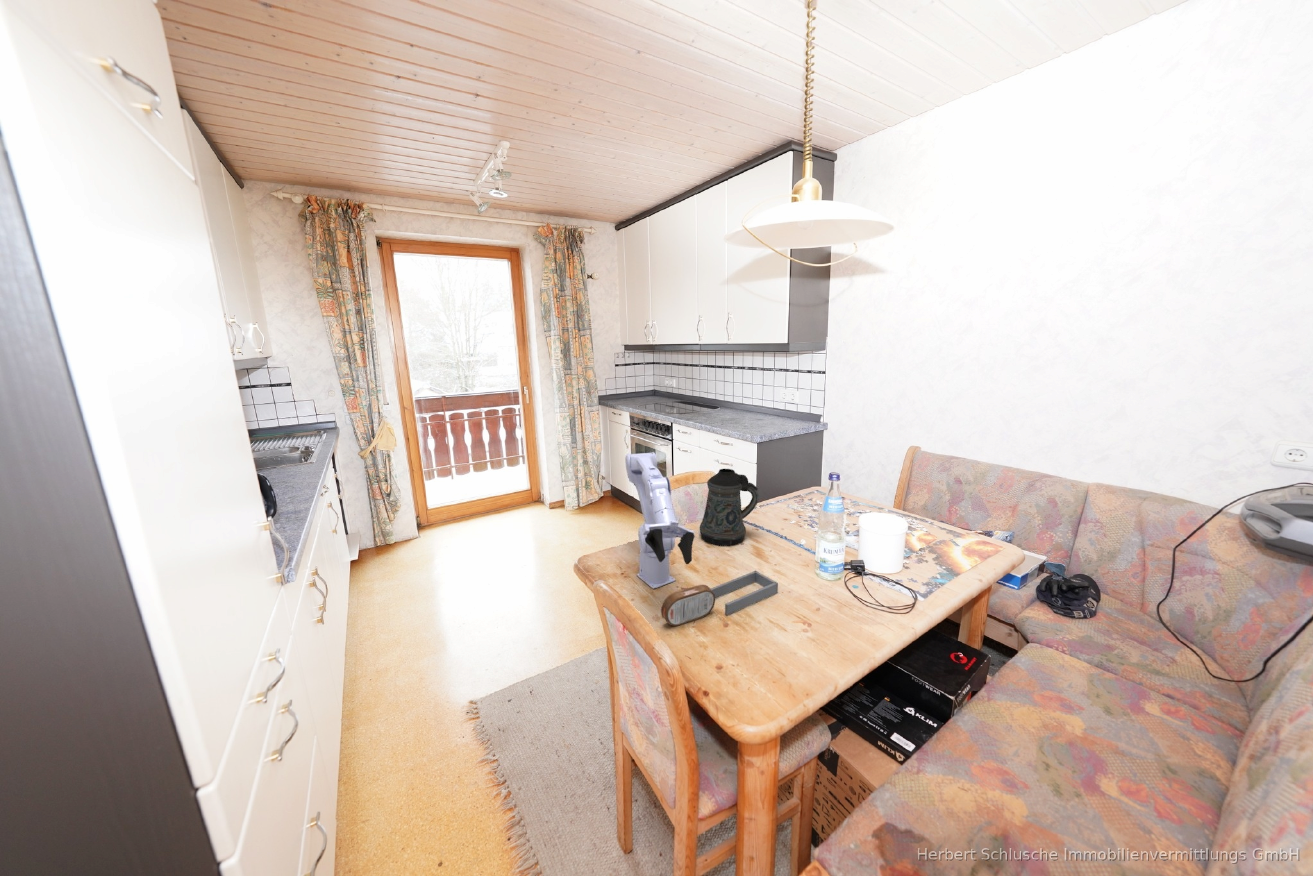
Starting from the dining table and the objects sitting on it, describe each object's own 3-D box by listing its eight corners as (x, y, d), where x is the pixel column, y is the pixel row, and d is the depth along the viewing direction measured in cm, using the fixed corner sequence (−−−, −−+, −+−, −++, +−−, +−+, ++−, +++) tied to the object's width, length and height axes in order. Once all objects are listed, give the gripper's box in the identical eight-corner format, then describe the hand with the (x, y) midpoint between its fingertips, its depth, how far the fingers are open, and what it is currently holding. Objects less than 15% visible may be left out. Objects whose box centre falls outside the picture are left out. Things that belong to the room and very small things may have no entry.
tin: (710, 608, 122) (710, 579, 120) (717, 614, 119) (717, 585, 117) (660, 625, 115) (659, 594, 113) (666, 632, 112) (666, 601, 111)
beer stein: (692, 531, 170) (692, 466, 165) (739, 523, 176) (741, 461, 170) (710, 550, 155) (711, 479, 149) (761, 541, 160) (764, 473, 155)
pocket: (705, 600, 125) (706, 590, 125) (755, 579, 135) (755, 570, 135) (727, 615, 118) (727, 605, 118) (777, 592, 128) (778, 583, 128)
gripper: (647, 502, 116) (657, 549, 106) (694, 509, 122) (708, 554, 113) (635, 518, 120) (644, 565, 110) (682, 525, 126) (694, 569, 117)
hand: (675, 561), depth 112 cm, fingers open, 7 cm apart
